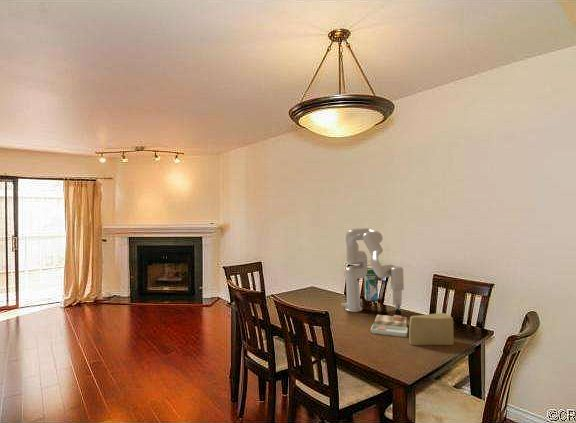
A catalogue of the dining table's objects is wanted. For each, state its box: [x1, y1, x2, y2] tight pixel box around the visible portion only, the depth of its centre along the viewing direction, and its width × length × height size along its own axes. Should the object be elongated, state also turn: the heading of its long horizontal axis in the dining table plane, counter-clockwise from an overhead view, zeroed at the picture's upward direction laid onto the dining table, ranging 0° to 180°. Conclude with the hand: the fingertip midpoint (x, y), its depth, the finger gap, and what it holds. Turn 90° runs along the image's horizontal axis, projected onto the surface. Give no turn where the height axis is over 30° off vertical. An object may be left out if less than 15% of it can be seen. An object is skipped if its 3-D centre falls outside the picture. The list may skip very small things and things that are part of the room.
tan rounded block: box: [408, 312, 454, 346], centre depth 176 cm, size 22×10×15 cm, turn 95°
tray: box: [370, 323, 409, 338], centre depth 193 cm, size 20×10×2 cm, turn 67°
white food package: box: [374, 314, 408, 327], centre depth 204 cm, size 18×12×4 cm, turn 67°
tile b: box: [393, 314, 403, 321], centre depth 202 cm, size 4×4×2 cm
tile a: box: [377, 326, 386, 331], centre depth 194 cm, size 4×4×2 cm
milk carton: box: [363, 268, 379, 302], centre depth 267 cm, size 9×9×25 cm
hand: (398, 315), depth 206 cm, fingers closed
